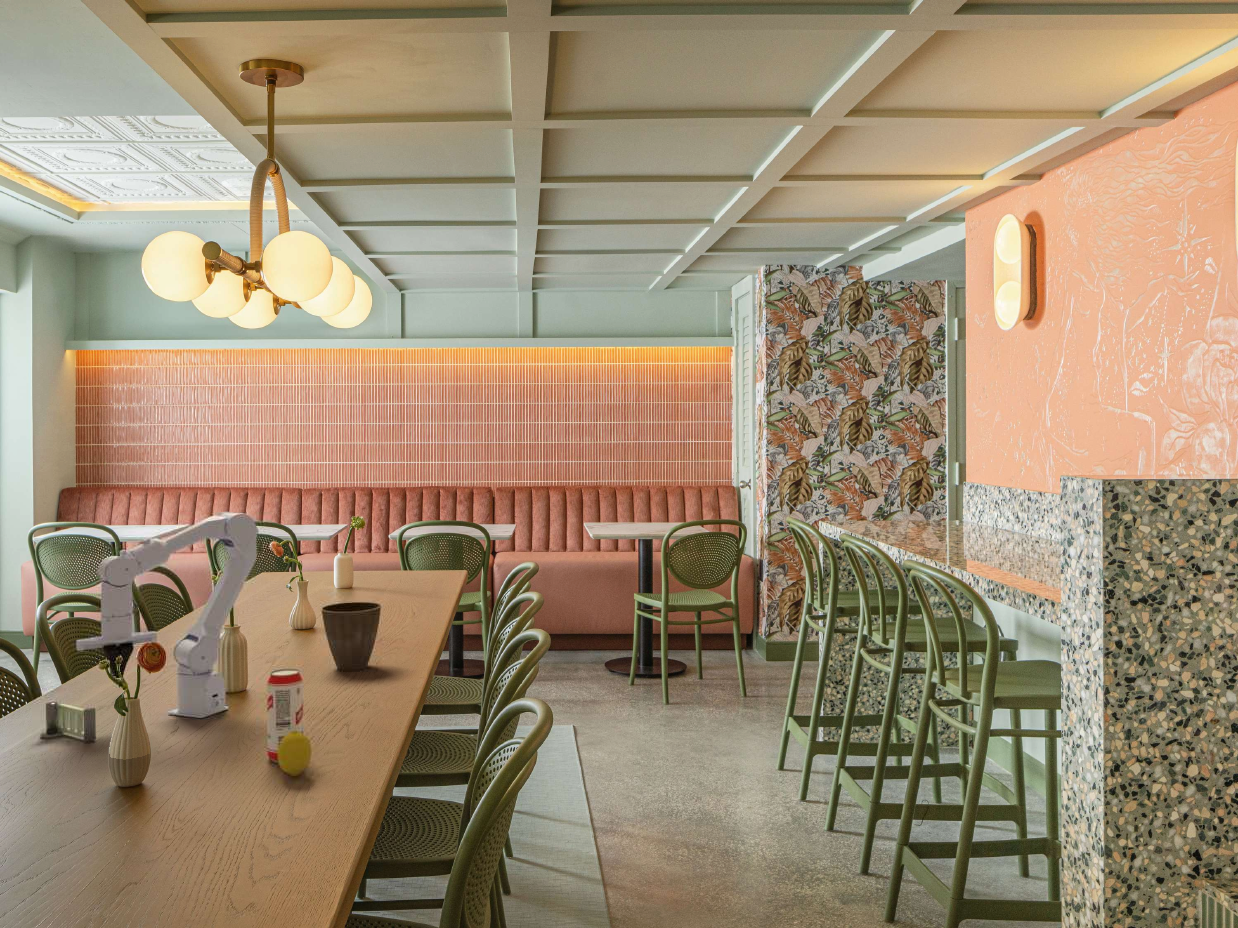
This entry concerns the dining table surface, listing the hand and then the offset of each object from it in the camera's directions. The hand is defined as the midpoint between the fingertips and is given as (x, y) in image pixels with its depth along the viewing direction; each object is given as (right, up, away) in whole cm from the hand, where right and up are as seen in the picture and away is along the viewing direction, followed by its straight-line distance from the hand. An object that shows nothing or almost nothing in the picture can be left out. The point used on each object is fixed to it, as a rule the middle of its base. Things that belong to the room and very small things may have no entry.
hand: (117, 680), depth 195 cm
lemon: (+47, -10, -30) cm, 56 cm away
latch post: (-10, -10, -6) cm, 15 cm away
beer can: (+42, -10, -21) cm, 48 cm away
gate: (-5, -9, -7) cm, 13 cm away
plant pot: (+34, -9, +51) cm, 62 cm away
